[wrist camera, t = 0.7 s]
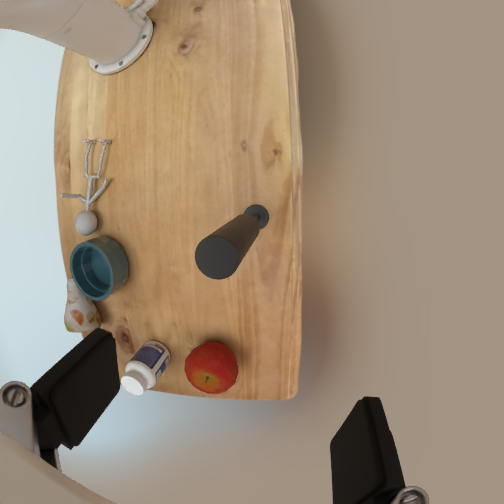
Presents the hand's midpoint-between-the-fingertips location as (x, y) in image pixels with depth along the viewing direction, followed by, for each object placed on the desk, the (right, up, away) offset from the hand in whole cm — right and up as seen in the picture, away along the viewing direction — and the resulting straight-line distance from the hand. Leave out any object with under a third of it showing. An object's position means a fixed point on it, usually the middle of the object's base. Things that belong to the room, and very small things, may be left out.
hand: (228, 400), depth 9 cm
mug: (-29, -3, +35) cm, 46 cm away
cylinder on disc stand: (+1, +10, +27) cm, 29 cm away
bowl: (-23, +3, +32) cm, 39 cm away
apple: (-5, -11, +33) cm, 35 cm away
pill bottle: (-16, -12, +35) cm, 40 cm away
